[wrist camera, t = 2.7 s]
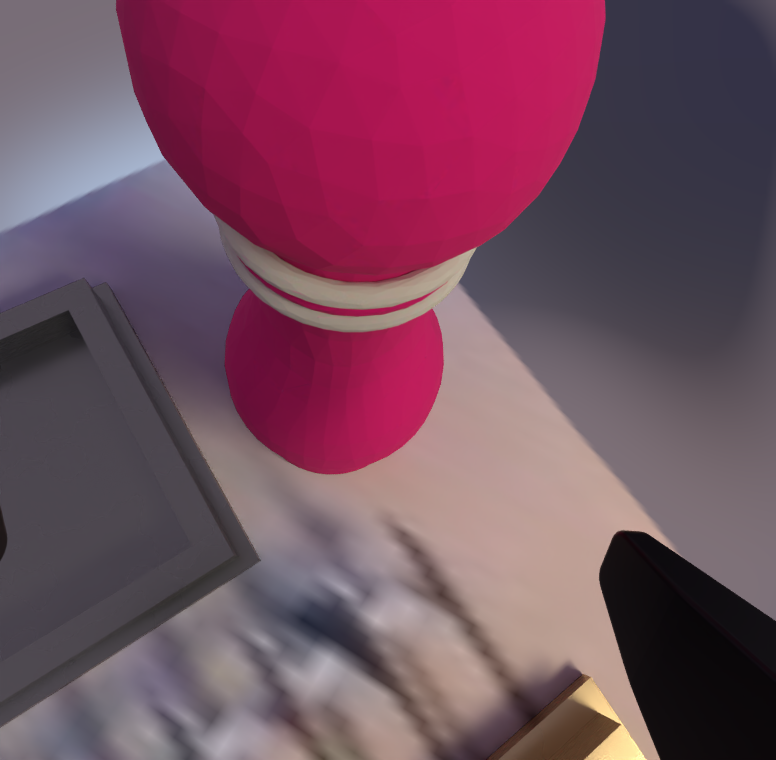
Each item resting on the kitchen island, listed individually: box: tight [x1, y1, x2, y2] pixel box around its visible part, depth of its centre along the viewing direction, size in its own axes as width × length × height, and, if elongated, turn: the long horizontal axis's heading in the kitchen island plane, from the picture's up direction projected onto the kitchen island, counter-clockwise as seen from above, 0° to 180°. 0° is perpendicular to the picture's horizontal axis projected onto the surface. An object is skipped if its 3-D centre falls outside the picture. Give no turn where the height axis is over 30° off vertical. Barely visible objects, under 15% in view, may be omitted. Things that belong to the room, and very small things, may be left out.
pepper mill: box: [116, 0, 605, 474], centre depth 12 cm, size 7×7×20 cm
